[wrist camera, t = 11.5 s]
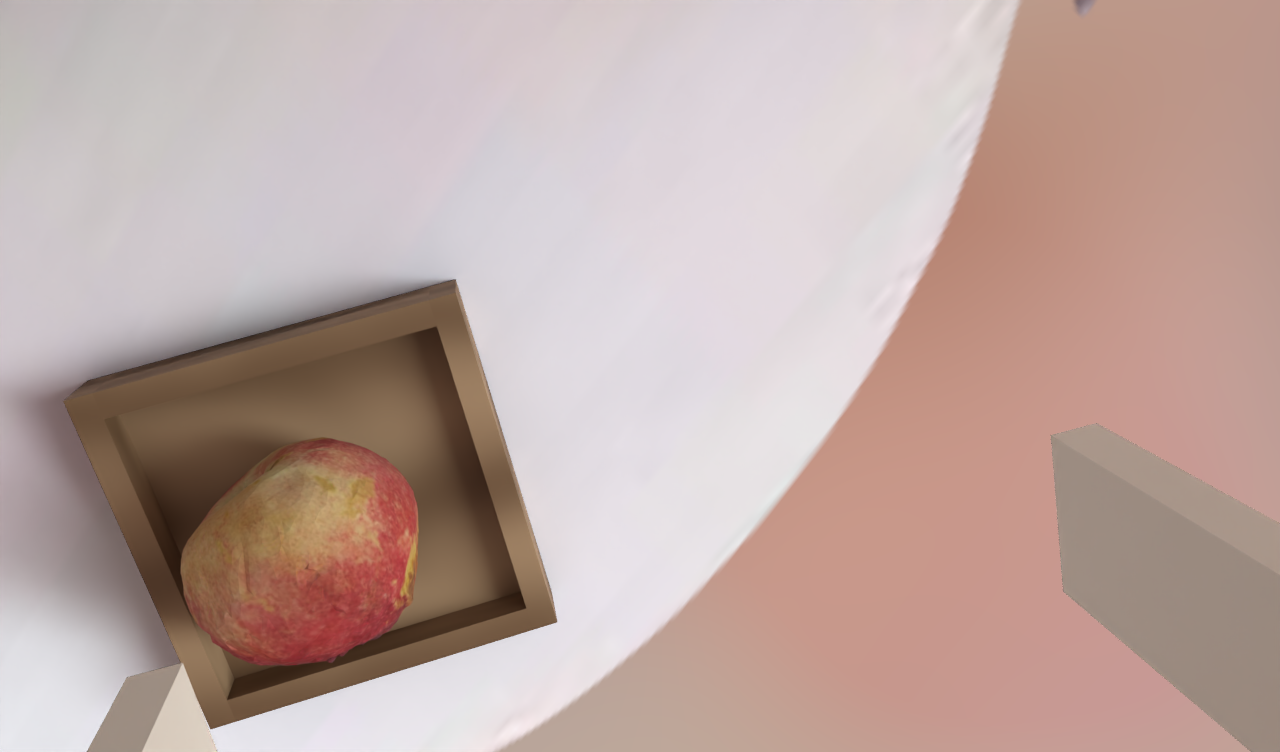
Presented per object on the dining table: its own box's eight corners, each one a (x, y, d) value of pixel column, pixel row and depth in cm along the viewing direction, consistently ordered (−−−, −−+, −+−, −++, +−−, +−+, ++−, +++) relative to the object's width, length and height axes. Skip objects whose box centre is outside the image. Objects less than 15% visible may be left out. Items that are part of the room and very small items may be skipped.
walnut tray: (87, 380, 38) (63, 401, 36) (455, 279, 40) (455, 292, 37) (224, 692, 43) (210, 729, 40) (551, 592, 44) (557, 622, 42)
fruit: (393, 387, 39) (378, 462, 32) (449, 563, 42) (447, 672, 34) (187, 441, 39) (122, 532, 31) (256, 617, 41) (212, 741, 33)
